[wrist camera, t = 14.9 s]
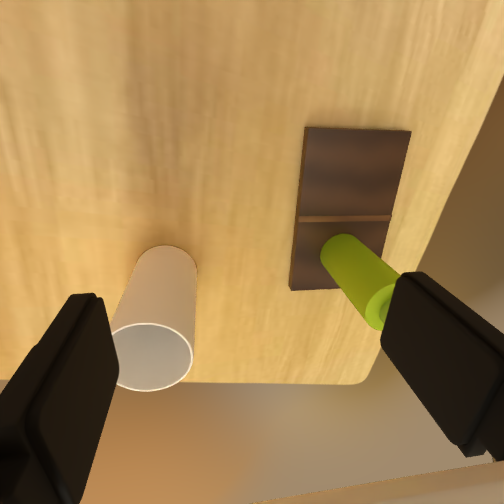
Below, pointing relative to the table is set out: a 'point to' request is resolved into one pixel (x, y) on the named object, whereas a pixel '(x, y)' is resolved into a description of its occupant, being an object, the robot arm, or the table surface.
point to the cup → (156, 320)
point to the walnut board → (343, 195)
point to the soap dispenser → (360, 277)
